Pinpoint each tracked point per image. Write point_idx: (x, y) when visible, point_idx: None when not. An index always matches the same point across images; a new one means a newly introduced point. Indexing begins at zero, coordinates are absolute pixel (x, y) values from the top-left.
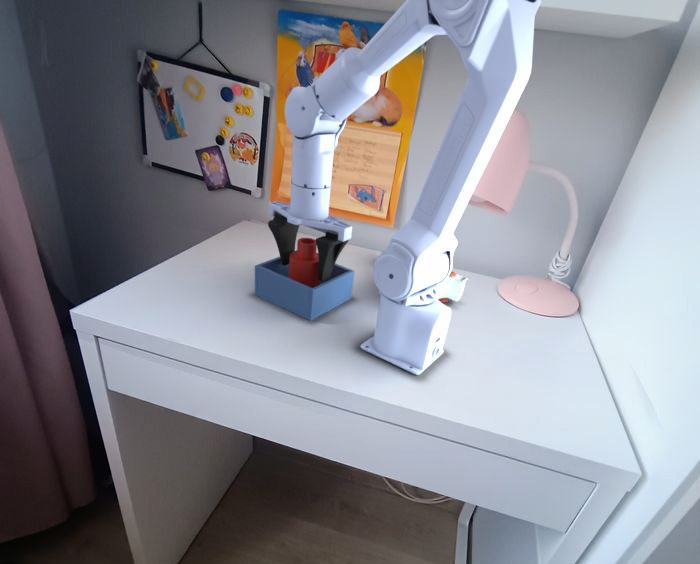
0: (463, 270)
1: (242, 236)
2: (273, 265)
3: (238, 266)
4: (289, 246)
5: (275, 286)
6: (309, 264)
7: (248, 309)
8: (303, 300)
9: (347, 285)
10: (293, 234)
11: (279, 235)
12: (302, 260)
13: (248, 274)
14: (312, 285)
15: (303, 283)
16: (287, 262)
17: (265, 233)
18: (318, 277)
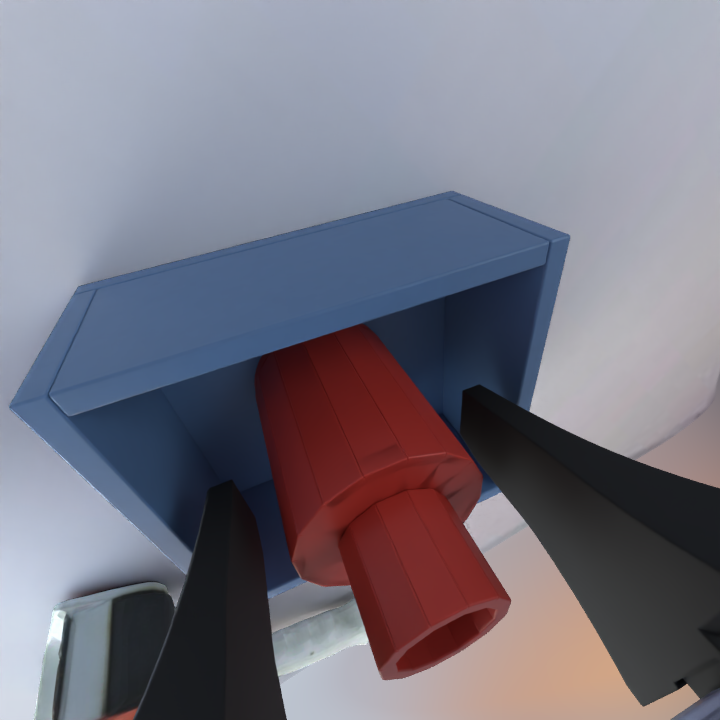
0: None
1: (684, 371)
2: (507, 347)
3: (622, 270)
4: (528, 488)
5: (364, 255)
6: (299, 518)
7: (359, 41)
8: (126, 317)
9: None
10: (575, 568)
11: (646, 519)
12: (361, 501)
13: (568, 270)
14: (266, 428)
15: (287, 398)
16: (468, 413)
17: (643, 424)
18: (231, 490)
